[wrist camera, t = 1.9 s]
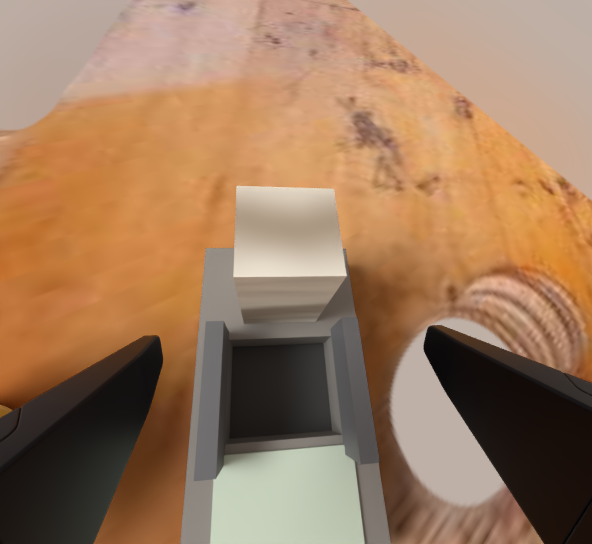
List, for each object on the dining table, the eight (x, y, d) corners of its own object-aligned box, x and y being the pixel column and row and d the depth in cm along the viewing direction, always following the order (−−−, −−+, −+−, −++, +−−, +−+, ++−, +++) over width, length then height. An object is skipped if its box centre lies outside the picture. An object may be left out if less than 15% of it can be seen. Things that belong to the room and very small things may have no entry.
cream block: (315, 321, 20) (346, 275, 12) (244, 323, 19) (233, 277, 12) (309, 259, 22) (333, 188, 15) (245, 259, 21) (236, 185, 14)
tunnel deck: (374, 547, 17) (426, 615, 12) (189, 573, 16) (152, 663, 10) (336, 264, 25) (357, 227, 20) (211, 265, 24) (197, 225, 18)
